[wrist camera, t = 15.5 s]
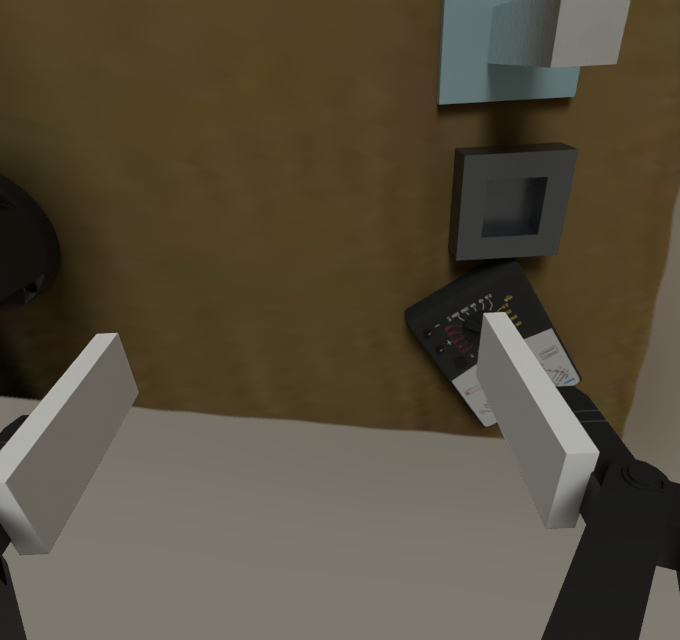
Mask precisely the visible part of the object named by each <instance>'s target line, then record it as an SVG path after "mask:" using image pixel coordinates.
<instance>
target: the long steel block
mask: <svg viewBox="0 0 680 640" xmlns="http://www.w3.org/2000/svg"><path fill="white" fill-rule="evenodd" d="M629 5H630V0H515V1H511V2H508V3H504V4H501V5H497V6H493V8H492V19H491V29H490V39H489V49H488V60H487V63H490V64H504V65H518V66H532V67H547V68H555V67H573V66H590V65H607V64H616V63H617V59H618V54H619V50H620V45H621V41H622V36H623V32H624V27H625V23H626V18H627V14H628V9H629Z"/></svg>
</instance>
